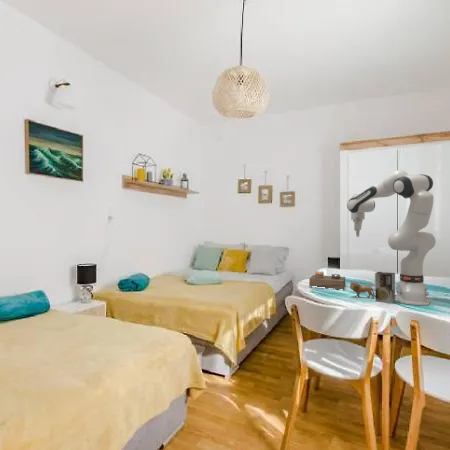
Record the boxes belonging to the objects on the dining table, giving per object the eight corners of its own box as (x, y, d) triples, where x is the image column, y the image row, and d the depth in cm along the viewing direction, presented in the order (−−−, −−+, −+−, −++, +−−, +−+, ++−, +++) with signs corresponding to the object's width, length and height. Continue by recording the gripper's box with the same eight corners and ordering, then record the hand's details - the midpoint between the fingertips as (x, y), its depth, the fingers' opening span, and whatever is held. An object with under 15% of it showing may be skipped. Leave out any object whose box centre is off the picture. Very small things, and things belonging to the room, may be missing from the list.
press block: (343, 290, 207) (343, 281, 207) (309, 287, 217) (309, 278, 217) (345, 285, 222) (345, 276, 222) (313, 283, 231) (313, 274, 231)
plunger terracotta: (322, 284, 218) (322, 273, 218) (314, 283, 220) (314, 272, 220) (324, 283, 223) (324, 271, 223) (316, 282, 225) (315, 271, 225)
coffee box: (395, 301, 178) (395, 272, 178) (392, 303, 174) (392, 274, 173) (378, 298, 184) (378, 271, 184) (374, 300, 180) (374, 272, 180)
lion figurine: (350, 297, 188) (350, 282, 188) (349, 295, 193) (349, 281, 193) (377, 299, 183) (377, 284, 183) (376, 297, 188) (376, 282, 188)
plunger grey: (339, 287, 213) (339, 275, 213) (331, 286, 216) (331, 275, 215) (340, 285, 218) (340, 274, 218) (332, 285, 221) (332, 273, 221)
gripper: (362, 217, 212) (362, 237, 212) (363, 217, 231) (363, 236, 231) (352, 217, 215) (352, 237, 215) (353, 217, 233) (353, 235, 234)
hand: (357, 236), depth 223 cm, fingers closed
